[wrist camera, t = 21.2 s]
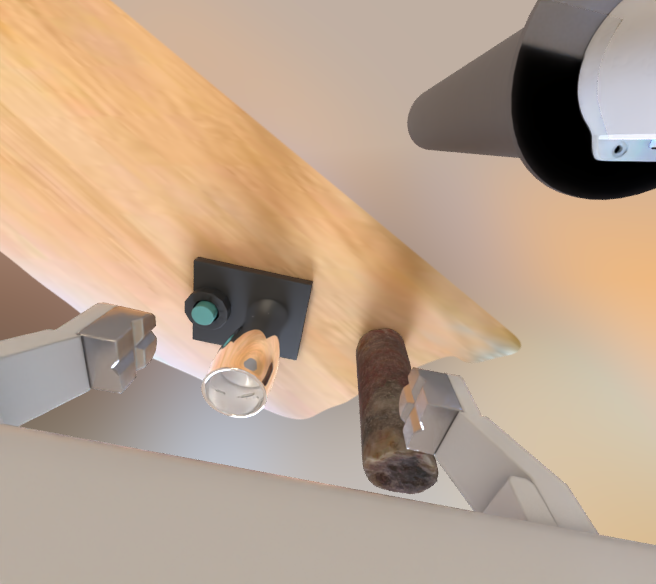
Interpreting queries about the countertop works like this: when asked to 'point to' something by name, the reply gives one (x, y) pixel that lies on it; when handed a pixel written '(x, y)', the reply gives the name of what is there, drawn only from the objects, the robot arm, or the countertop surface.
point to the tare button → (204, 313)
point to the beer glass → (247, 362)
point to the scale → (246, 300)
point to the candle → (388, 416)
